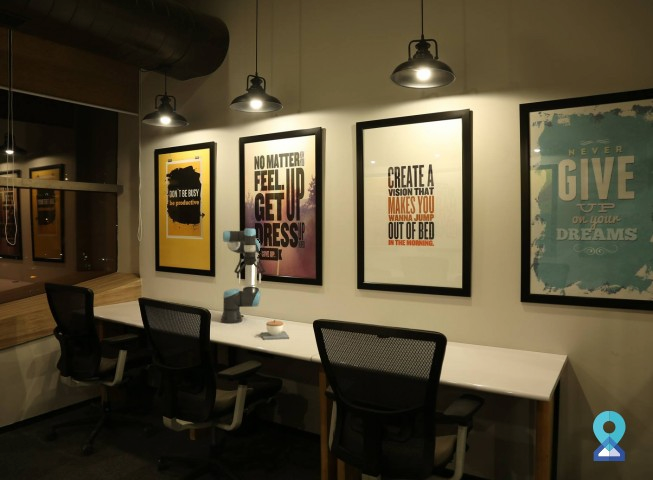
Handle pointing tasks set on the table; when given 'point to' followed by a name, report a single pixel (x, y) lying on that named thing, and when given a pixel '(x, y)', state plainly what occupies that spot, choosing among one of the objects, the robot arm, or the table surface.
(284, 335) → the slate mat
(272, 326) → the lidded jar
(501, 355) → the table surface
